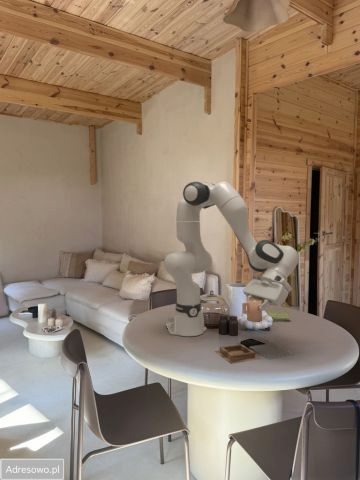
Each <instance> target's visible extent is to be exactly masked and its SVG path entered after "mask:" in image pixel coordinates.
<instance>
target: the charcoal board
mask: <svg viewBox="0 0 360 480" xmlns="http://www.w3.org/2000/svg"><path fill="white" fill-rule="evenodd" d="M249 349H250V350H252V351H253V352H254V351H255V353H256V352H257V354H259V355H261V356H263V357H264V358H266V359H267V360H273V359H278V358H284V357H289V356H290V357H291V356H293V357H295V354H294V353H292V352H291V351H288V350H287V349H285V348H283V347H281V346H279V345H277V344H276V343H273V342H272V343H271V342H270V343H265V344H258V345H257V344H256V345H252V346H249Z"/></svg>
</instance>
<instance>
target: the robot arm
mask: <svg viewBox="0 0 360 480" xmlns="http://www.w3.org/2000/svg"><path fill="white" fill-rule="evenodd" d="M182 190H183V192H182V196H183V198H181V199H180V200H179V201H178V203H177V208H176V217H175V218H176V224H175V225H176V226H175V227H176V238H177V240H178V241H179V242H180V243H182V244H183V246H184V247H185V248H184V249H185V250H183V251H175V252H172V253H169V254H167V255H166V256H165V258H164V260H163V266H164V269H165V272H167V274H168V275H169V276H170V277H171V278H172V279H173V281H174V283H175V286H176V302H175V308H174V309H175V310H174V311H173V312H172V313H171V314H170V316H169V317H168V322H166V323H165V326H167V327H166V328H168V329H167V330H168V333H169V335H172V336H174V335H175V336H180V337H181V336H182V337H195V336H200V335H202V334H204V332H206V331H207V327H206V326H205V319H204V317H205V316H204V313H203V312H202V303H201V286H200V285H199V284H198V283H197V282H195V281H194V280H193V277H192V276H193V275H192V274H194V275H195V274H200V273H201V274H202V273H204V272H206V271H209V270H210V269H211V268H212V266H213V257H212V254H210V252H208V251H207V250H206V248H205V247H204V244H203V241H202V238H201V223H200V221H201V218H200V216H201V215H200V214H201V210H202V209H204V210H206V209H208V208H210V207H213V206H216V207H217V209H218V210H219V213H220V214H221V215H222V216H223V217H224V219H225V221H226V222H227V223H228V226H229V227H230V228H231V230H232V231H233V234H234V236H235V237H236V239H237V240H238V242H239V244H240V245H241V248H242V249H243V250H244V252H245V254H246V257H247V262H248V266H249V267H250V268H251V269H252V270H253V271H255V272H258V273H263V274H262V275H261V277H256V278H253V279H251V280H250V281H249V282H248V283H247V284H246V285H245V287H243V290H242V293H243V294H244V295H245V296H246V297H247V299H249V298H258V299H262V304H261V305H259V306H258V309H259V310H260V311H264V309H266V308H268V307H269V306H270V304H271V305H274V306H275V305H276V306H281V305H283V304H284V302H285V300H286V299H287V298H288V295H289V293H290V292H291V291H292V290H293V288H292V286H291V285H290V284H289V282H288V281H287V280H288V277H289V276H290V275H291V274H292V273H293V272H294V270H295V268H296V267H297V265H298V263H299V260H300V255H299V253H298V251H297V250H296V249H295V248H294V247H292V246H291V245H281V244H277V243H275V242H273V241H271V240H268V239H262V240H260V241H258V242H257V241H256V239H255V238H254V236H253V235H252V233H251V231H250V227H249V209H248V206H247V203H246V201H245V200H244V199H243V197H242V196H241V195H240V193H239V192H238V191H237V189H236V188H235V187H233V185H232V184H231V183H229V182H228V181H220V182H217V183H216V184H214V183H210V182H206V181H191V182H189V183H187V184H186V185H185V186H184V188H183V189H182Z"/></svg>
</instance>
